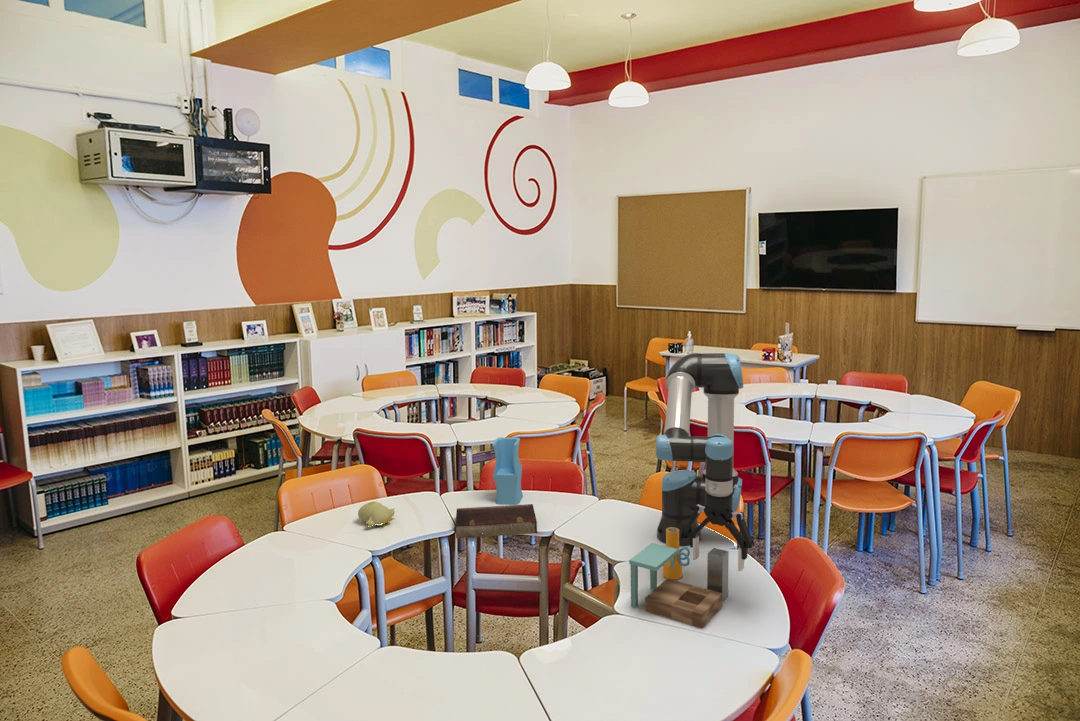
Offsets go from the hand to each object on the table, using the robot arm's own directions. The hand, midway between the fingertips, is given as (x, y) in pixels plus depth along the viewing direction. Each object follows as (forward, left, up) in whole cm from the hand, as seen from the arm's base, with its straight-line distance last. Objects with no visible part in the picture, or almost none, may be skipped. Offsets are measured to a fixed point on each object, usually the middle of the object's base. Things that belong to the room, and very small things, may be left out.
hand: (718, 563), depth 208 cm
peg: (0, 0, -11) cm, 11 cm away
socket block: (+11, -6, -11) cm, 16 cm away
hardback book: (-9, -90, -11) cm, 91 cm away
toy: (+13, -131, -11) cm, 132 cm away
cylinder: (-6, -17, -11) cm, 21 cm away
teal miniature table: (+11, -15, -11) cm, 21 cm away
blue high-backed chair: (-32, -102, -11) cm, 108 cm away
